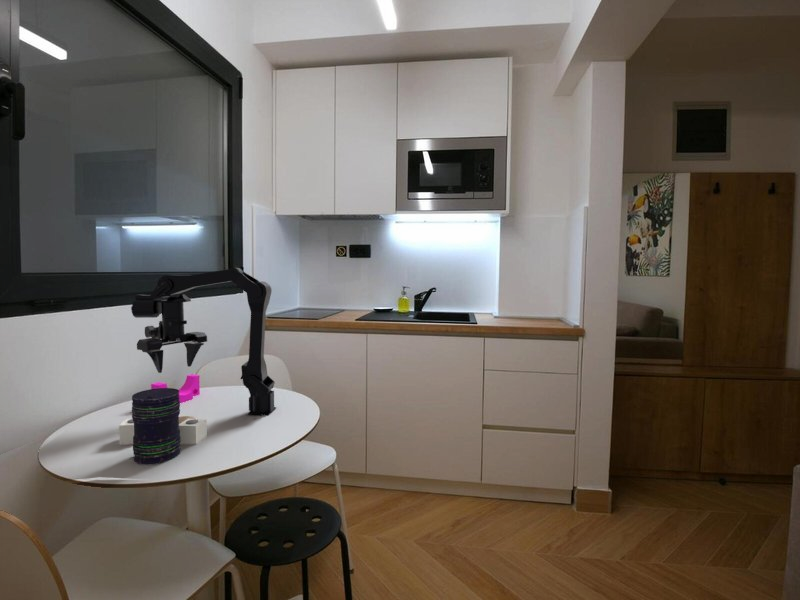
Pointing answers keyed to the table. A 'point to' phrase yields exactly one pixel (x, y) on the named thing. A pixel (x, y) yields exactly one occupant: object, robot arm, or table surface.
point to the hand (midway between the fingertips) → (175, 369)
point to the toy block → (184, 388)
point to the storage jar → (156, 425)
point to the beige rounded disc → (185, 418)
